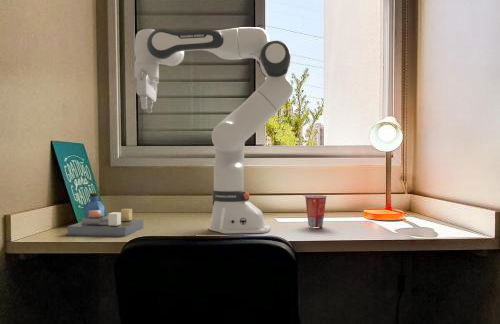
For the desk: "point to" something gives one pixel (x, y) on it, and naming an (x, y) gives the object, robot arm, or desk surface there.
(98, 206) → the perfume bottle
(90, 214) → the push button
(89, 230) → the console
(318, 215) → the cup
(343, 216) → the desk surface
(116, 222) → the ivory slider
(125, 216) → the brass slider
